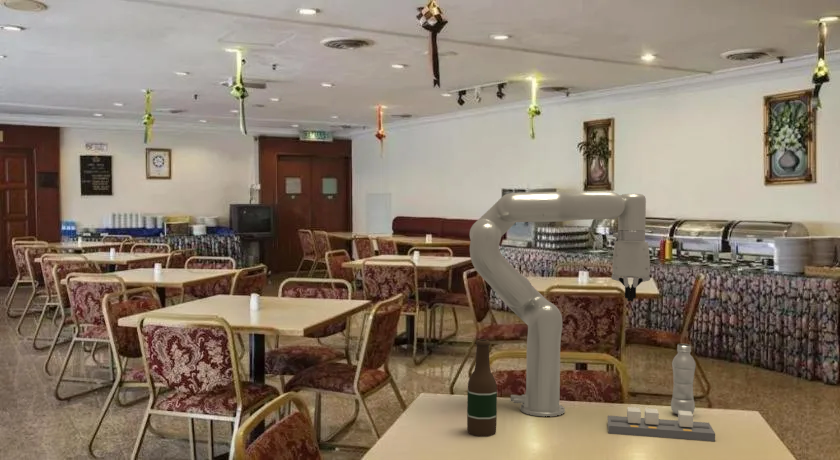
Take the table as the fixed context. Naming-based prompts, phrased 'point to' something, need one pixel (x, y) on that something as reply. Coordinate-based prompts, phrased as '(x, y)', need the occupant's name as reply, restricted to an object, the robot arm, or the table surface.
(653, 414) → the slider
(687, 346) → the plastic bottle
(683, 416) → the slider
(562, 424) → the table surface
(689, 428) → the switch deck
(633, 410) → the slider
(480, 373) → the beer bottle
